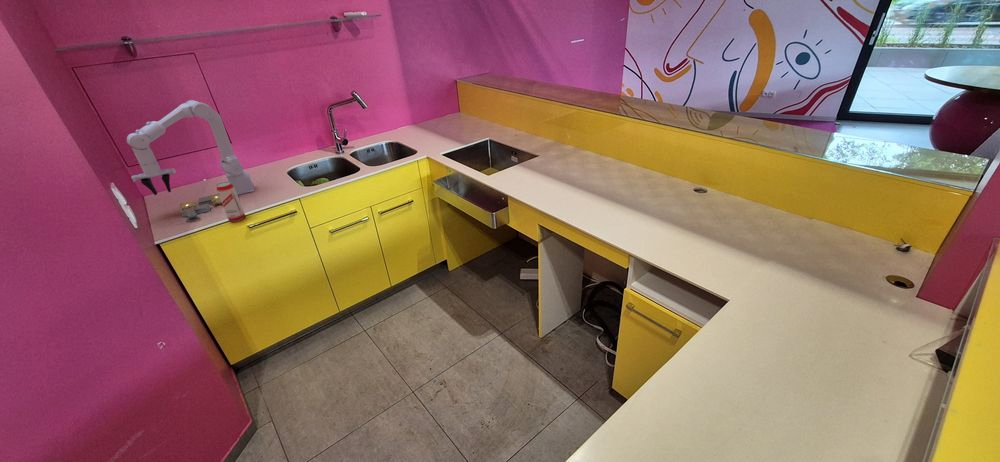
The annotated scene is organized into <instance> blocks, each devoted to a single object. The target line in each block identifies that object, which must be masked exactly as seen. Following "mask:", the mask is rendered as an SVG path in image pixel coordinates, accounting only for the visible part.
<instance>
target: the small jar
mask: <svg viewBox="0 0 1000 462" xmlns="http://www.w3.org/2000/svg"><path fill="white" fill-rule="evenodd" d="M186 202H187V203H184V202H183V203H184V204H182V205H180V208H181V207H182V208H184V210H185V212H186V214H187V216H186V217H187V219H189V220H195V219H197V218H198V217H199V216H198V214H196V212H195V210H194V208H193V203H192V202H188V201H186ZM182 208H181V209H182ZM197 216H198V217H197Z"/></svg>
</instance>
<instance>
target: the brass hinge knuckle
mask: <svg viewBox="0 0 1000 462" xmlns="http://www.w3.org/2000/svg"><path fill="white" fill-rule="evenodd" d="M187 202H192V203H193V208H194V210H195V212H196V215H198V214H203V213H207V212H211V205H210V204H204V205H197V204H196V202H195V201H194V200H188V201H184V202H180V204H179V205H180V208H181V215H182V217H183V218H185V217H187V214H186V212H185V210H184V208H182V207H181V205H182V204H184V203H187Z"/></svg>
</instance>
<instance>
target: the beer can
mask: <svg viewBox="0 0 1000 462" xmlns="http://www.w3.org/2000/svg"><path fill="white" fill-rule="evenodd" d="M216 194H218V195H219V198H220V200H221V203H222V204H221V205H222V207H223V209H224V212H225V214H226V216H227V219H228V221H230V222H233V223H235V222H236V223H237V222H240V221H242V220H243V219H244V218H245V216H246V214H245V212H244V209H243V207H242V203H241V201H240V199H239V195H237V193H236V191H235V188H234V186H233V185H232V184H231V182H228V181H223V182H220V183H217V184H216Z"/></svg>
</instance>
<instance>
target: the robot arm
mask: <svg viewBox="0 0 1000 462" xmlns="http://www.w3.org/2000/svg"><path fill="white" fill-rule="evenodd" d="M194 116H195V117H197V118H201V119H203V120H205V121H207V122H208V124H209V126H210V127H209V128H210V130H211V132H212V134H213V137H214V140H215V142H216V146H217V148H218V151H219V153H220V157H219V158H220V168H221V169H222V171H224V172H225V176H226V179H227V182H231V184H232V185H233V186H234V188H235V191H236V193H237V196H240V195H244V194H248V193H252V192H255V187H254V185H255V184H254V182H253V181H252V179H251V175H250V173H249V171H244V166H243V164H242V163H241V162H240V161H239V158H238V157H237V155H236V154H235V153H234V149H233V148H232V144H231V141H230V139H229V136H228V133H227V130H226V128H225V124H224V121H223V118H222V117H221V114H219V113H218V112H217V111H216V110H215V109H214V108H212V107H211V105H208V104H207V103H204V102H201V101H200V102H199V101H197V100H194V99H189V100H187V101H186V102H184V103H181V104H180V105H179V106H178V107H176V108H175V109H173V110H172V111H171V112H169V113H168V114H167V115H165V116H164V117H162V118H161V119H160V120H158V121H157V120H156V121H154V120H153V121H147V122H146V123H145V124H146V125H144V126H142V127H141V128H140V129H136V130H135V132H133V133H132V132H131V133H130V134H128V135H127V137H126V144H128V145H129V146H130V147H131V150H132V151H133V154H134V156H135V157H136V160H137V161H138V165H139V166H140V168H141V169H142V172H143V173H139V174H135V175H134V174H133V175H132V176H131V180H132V182H133V183H135V182H138V181H140V182H141V184H142V185H144V186H145V187H147V188H148V189H149V190H150V191H151V192H152V194H153V195H154V196H157V195H158V192H157V189H156V188H155V186H154V184H153V182H152V180H151V179H152V178H158V177H161V180H162V181H163V184H164V185H165V187H166V190H167V192H168V193H171V192H172V189H171V185H170V184H171V183H170V176H171V175H175V174H177V171H176V169H175V168H174V167H173V168H172V167H171V168H164V169H161V167H160V164H159V163H158V160H157V159H156V156H155V154H154V152H153V150H152V149H151V147H150V143H152V142H154V141H155V140H156V139H158V138H159V137H161V136H163V135H164V134H165V133H166V129H167V128H168V127H170V126H171V125H173V124H175V123H177V122H178V121H180V120H181V119H184V118H194Z"/></svg>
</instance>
